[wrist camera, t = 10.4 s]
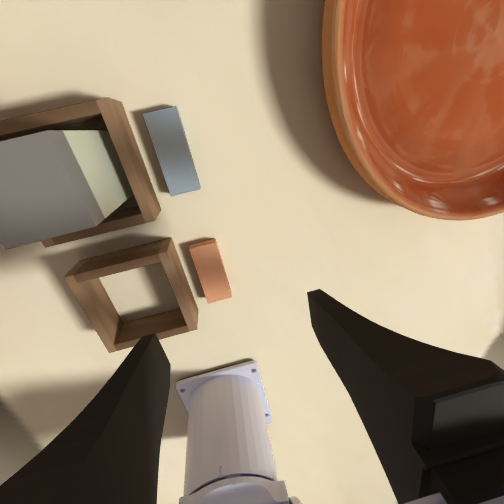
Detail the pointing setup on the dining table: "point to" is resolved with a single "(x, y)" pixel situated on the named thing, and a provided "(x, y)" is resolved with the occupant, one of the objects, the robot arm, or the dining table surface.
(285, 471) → the dining table surface
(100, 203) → the plug
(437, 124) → the saucer
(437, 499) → the robot arm
